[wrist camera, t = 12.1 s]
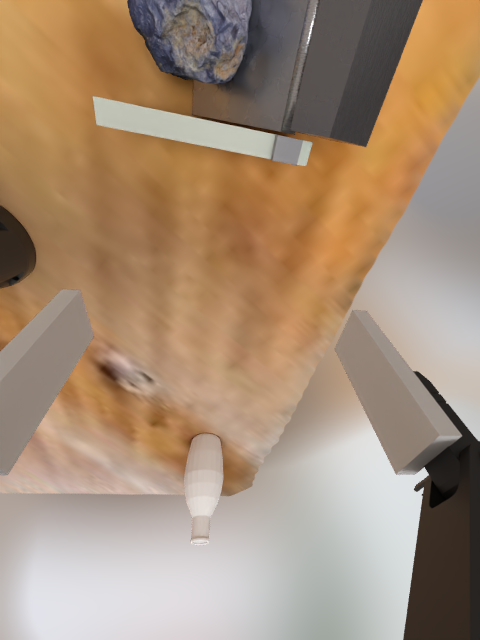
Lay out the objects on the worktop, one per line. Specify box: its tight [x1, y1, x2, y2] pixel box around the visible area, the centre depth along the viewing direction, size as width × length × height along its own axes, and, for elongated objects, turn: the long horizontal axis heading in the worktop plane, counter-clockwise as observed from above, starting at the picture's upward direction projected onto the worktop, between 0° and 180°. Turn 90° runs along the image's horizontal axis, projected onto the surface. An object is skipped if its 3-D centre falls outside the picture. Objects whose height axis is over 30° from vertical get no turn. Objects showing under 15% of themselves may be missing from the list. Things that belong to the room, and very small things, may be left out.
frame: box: [93, 96, 313, 166], centre depth 23 cm, size 20×20×14 cm
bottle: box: [184, 433, 223, 545], centre depth 72 cm, size 11×11×25 cm
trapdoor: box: [192, 0, 423, 147], centre depth 23 cm, size 21×15×7 cm
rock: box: [127, 0, 252, 84], centre depth 23 cm, size 11×10×10 cm
